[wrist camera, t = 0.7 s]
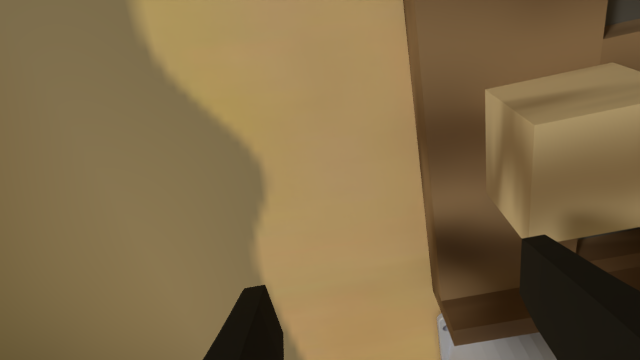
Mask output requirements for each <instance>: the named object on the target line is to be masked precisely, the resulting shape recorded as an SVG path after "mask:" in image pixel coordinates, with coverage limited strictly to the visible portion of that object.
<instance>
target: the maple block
mask: <svg viewBox="0 0 640 360" xmlns="http://www.w3.org/2000/svg"><path fill="white" fill-rule="evenodd" d="M485 121H486V193H487V194H488V196H489V197H490V198H491V200H492V201H493V202H494V203H495V205H496V206H497V207H498V209H499V210H500V211H501V213H502V214H503V215H504V216H505V218H506V219H507V220H508V222H509V223H510V224H511V225H512V227H513V228H514V229H515V231H516V232H517V233H518V235H519V236H520V237H521V238H527V237H533V236H538V235H544V234H545V235H547V236H548V237H550V238H552V239H553V240H555V241H557V242H559V241H565V240H570V239H576V238H581V237H587V236H592V235H598V234H603V233H609V232H614V231H620V230H625V229H631V228H636V227H640V71H637V70H634V69H631V68H628V67H625V66H622V65H619V64H616V63H613V62H612V63H608V64H603V65H598V66H593V67H589V68H584V69H579V70H575V71H570V72H565V73H561V74H556V75H551V76H547V77H542V78H537V79H532V80H528V81H523V82H518V83H514V84H509V85H504V86H500V87H495V88H490V89H485Z"/></svg>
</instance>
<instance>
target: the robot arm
mask: <svg viewBox="0 0 640 360" xmlns="http://www.w3.org/2000/svg"><path fill="white" fill-rule="evenodd" d="M519 293H520V296H521V298H522V300H523V302H524V304H525V306H526V308H527V310H528V312H529V314H530V316H531V318H532V320H533V322H534V324H535V326H536V328H537V329H538V331H539V332H538V333H532V334H526V335H520V336H514V337H508V338H502V339H496V340H490V341H484V342H477V343H471V344H465V345H459V346H454V344H453V341H452V339H451V336H450V333H449V331H448V328H447V326H446V323H445V320H444V318H443V315H442V313H441V314H440V315H439V316H438V317H437V326H438V336H439V346H440V356H441V360H640V291H639V290H637V289H635V288H633V287H632V286H630V285H628V284H626V283H625V282H623V281H621V280H619V279H618V278H616V277H614V276H613V275H611V274H609V273H607V272H606V271H604V270H602V269H601V268H599V267H597V266H596V265H594V264H592V263H591V262H589V261H588V260H586V259H584V258H583V257H581V256H579V255H578V254H576V253H575V252H573V251H571V250H570V249H568V248H566V247H565V246H563V245H562V244H560V243H558V242H557V241H555V240H553V239H552V238H550V237H548V236H547V235H545V234H544V235H538V236H533V237H527V238H522V244H521V266H520V288H519ZM283 357H284V349H283V331H282V329H281V326H280V323H279V321H278V318H277V315H276V313H275V310H274V307H273V305H272V302H271V299H270V297H269V294H268V291H267V289H266V286H265V285H261V286H255V287H250V288H245V289H244V290H243V291H242V293H241V295H240V297H239V298H238V300H237V302H236V304H235V306H234V307H233V309H232V311H231V313H230V315H229V317H228V318H227V320H226V322H225V323H224V325H223V327H222V329H221V330H220V332H219V334H218V336H217V337H216V339H215V341H214V342H213V344H212V345H211V347H210V349H209V351H208V352H207V354H206V356H205V357H204V359H203V360H284V358H283Z"/></svg>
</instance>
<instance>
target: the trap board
mask: <svg viewBox="0 0 640 360" xmlns="http://www.w3.org/2000/svg"><path fill="white" fill-rule="evenodd" d="M403 3H404V13H405V23H406V33H407V42H408V52H409V62H410V71H411V81H412V91H413V101H414V110H415V120H416V130H417V139H418V149H419V159H420V169H421V178H422V188H423V198H424V207H425V217H426V227H427V237H428V246H429V256H430V266H431V276H432V285H433V292H434V294H435V297H436V299H437V302H438V305H439V307H440V310H441V313H442V315H443V318H444V320H445V323H446V326H447V328H448V331H449V333H450V336H451V339H452V341H453V344H454V346H459V345H465V344H471V343H477V342H484V341H490V340H496V339H502V338H508V337H514V336H520V335H526V334H532V333H538V332H539V331H538V329H537V328H536V326H535V324H534V322H533V320H532V318H531V316H530V314H529V312H528V310H527V308H526V306H525V304H524V302H523V300H522V298H521V296H520V293H519V288H520V266H521V244H522V238H521V237H520V236H519V235H518V233H517V232H516V231H515V229H514V228H513V227H512V225H511V224H510V223H509V222H508V220H507V219H506V218H505V216H504V215H503V214H502V213H501V211H500V210H499V209H498V207H497V206H496V205H495V203H494V202H493V201H492V200H491V198H490V197H489V196H488V194H487V193H486V121H485V89H490V88H495V87H500V86H504V85H509V84H514V83H518V82H523V81H528V80H532V79H537V78H542V77H547V76H551V75H556V74H561V73H565V72H570V71H575V70H579V69H584V68H589V67H593V66H598V65H603V64H608V63H612V62H613V63H616V64H619V65H622V66H625V67H628V68H631V69H634V70H637V71H640V0H403ZM558 243H560V244H562V245H563V246H565V247H566V248H568V249H570V250H571V251H573V252H575V253H576V254H578V255H579V256H581V257H583V258H584V259H586V260H588V261H589V262H591V263H592V264H594V265H596V266H597V267H599V268H601V269H602V270H604V271H606V272H607V273H609V274H611V275H613V276H614V277H616V278H618V279H619V280H621V281H623V282H625V283H626V284H628V285H630V286H632V287H633V288H635V289H637V290H639V291H640V227H636V228H631V229H625V230H620V231H614V232H609V233H603V234H598V235H592V236H587V237H581V238H576V239H570V240H565V241H559V242H558Z"/></svg>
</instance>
